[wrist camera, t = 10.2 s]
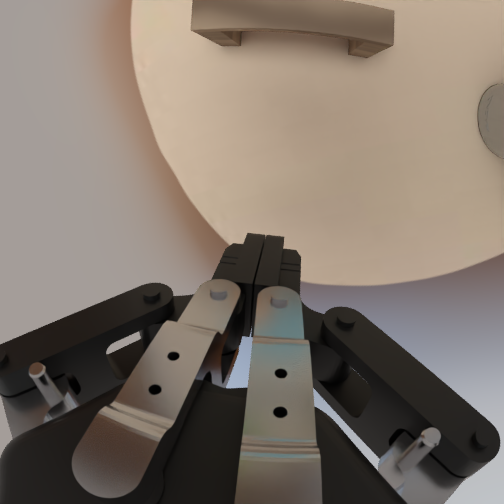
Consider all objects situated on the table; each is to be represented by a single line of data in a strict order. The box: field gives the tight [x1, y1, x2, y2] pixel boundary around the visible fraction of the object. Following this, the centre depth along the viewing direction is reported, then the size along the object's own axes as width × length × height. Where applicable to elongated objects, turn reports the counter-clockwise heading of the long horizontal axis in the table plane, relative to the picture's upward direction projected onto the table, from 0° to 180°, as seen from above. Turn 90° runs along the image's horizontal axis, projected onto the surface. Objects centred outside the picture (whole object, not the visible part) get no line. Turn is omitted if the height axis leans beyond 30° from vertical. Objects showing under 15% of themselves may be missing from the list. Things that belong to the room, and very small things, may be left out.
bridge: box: [191, 0, 394, 58], centre depth 21 cm, size 3×15×10 cm, turn 87°
